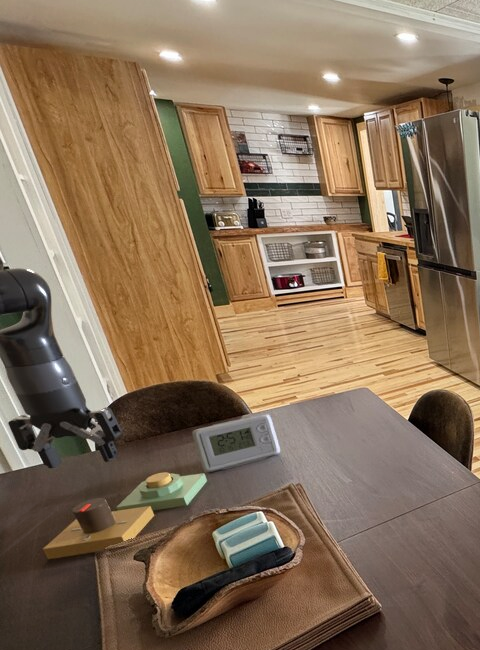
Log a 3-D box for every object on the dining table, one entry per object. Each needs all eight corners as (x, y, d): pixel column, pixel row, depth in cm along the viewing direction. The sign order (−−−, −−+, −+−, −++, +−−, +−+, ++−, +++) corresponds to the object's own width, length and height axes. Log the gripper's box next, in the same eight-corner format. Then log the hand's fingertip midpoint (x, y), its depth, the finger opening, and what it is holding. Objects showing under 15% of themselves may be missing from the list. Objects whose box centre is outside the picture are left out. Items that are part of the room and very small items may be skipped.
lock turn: (93, 520, 95) (82, 498, 93) (121, 516, 96) (111, 495, 94) (76, 535, 91) (64, 512, 89) (105, 531, 92) (94, 509, 90)
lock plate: (48, 559, 88) (41, 548, 87) (84, 526, 97) (78, 515, 96) (126, 546, 92) (121, 535, 91) (154, 515, 100) (150, 505, 99)
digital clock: (200, 476, 114) (186, 437, 110) (210, 458, 122) (196, 421, 118) (279, 460, 121) (268, 423, 117) (283, 445, 128) (273, 409, 124)
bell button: (144, 490, 103) (141, 483, 102) (154, 480, 106) (151, 473, 106) (166, 487, 104) (163, 480, 103) (175, 477, 107) (173, 471, 107)
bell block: (119, 515, 100) (112, 500, 99) (146, 489, 109) (139, 474, 108) (187, 505, 104) (181, 490, 102) (207, 480, 112) (201, 466, 111)
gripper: (108, 373, 89) (140, 448, 95) (12, 380, 86) (51, 458, 92) (80, 388, 83) (116, 467, 89) (-25, 396, 79) (20, 479, 85)
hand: (83, 462), depth 90 cm, fingers open, 8 cm apart
